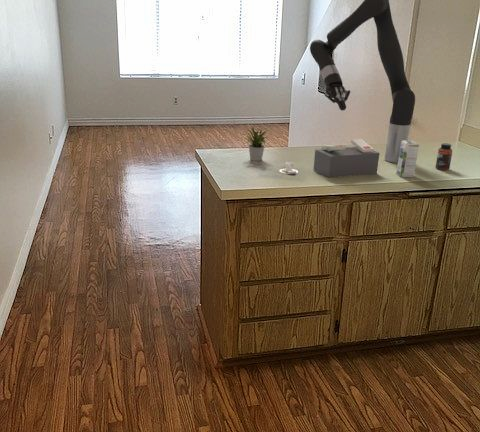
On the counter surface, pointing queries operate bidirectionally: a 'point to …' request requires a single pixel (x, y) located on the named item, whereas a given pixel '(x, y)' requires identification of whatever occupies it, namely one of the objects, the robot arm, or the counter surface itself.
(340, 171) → the switch box
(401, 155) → the syrup box
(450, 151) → the supplement bottle
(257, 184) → the counter surface
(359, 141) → the white flat box
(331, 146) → the sage rocker
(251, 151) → the house plant
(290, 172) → the teacup and saucer
